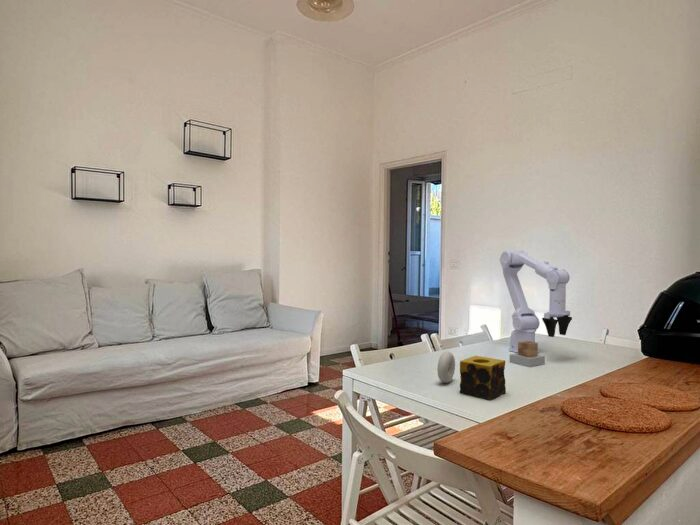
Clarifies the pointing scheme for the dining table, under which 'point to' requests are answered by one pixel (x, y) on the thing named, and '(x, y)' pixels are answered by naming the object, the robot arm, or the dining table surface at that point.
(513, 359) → the base
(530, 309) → the robot arm
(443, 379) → the donut
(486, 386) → the candle
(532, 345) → the block
